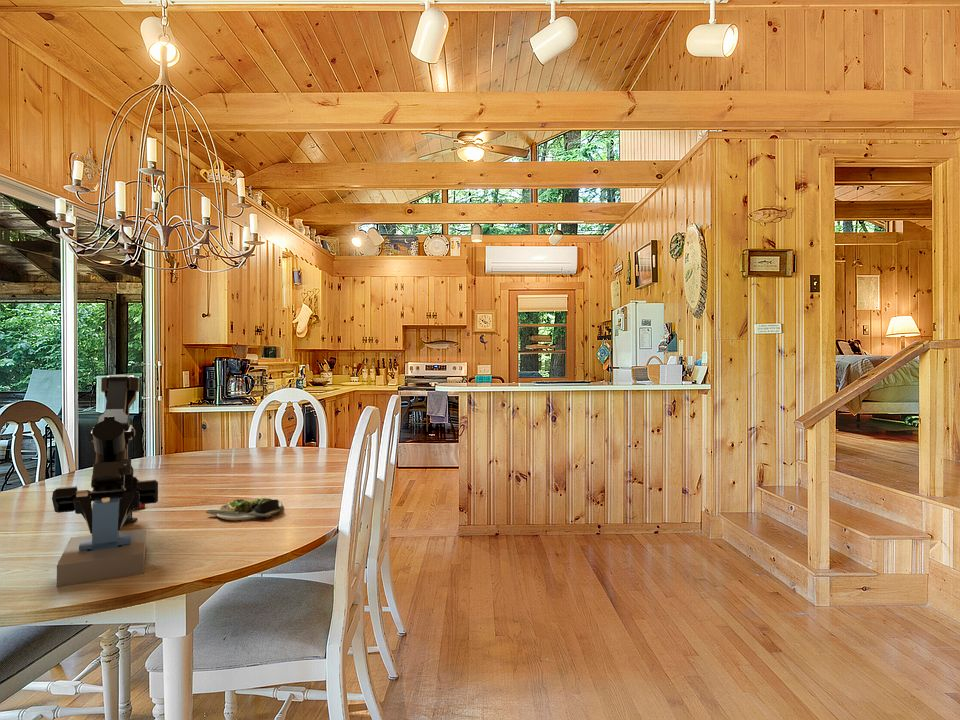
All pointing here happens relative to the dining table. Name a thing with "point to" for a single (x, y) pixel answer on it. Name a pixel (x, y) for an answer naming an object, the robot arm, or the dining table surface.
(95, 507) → the servo
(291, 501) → the dining table surface
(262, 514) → the salad plate
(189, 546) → the dining table surface
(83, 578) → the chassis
